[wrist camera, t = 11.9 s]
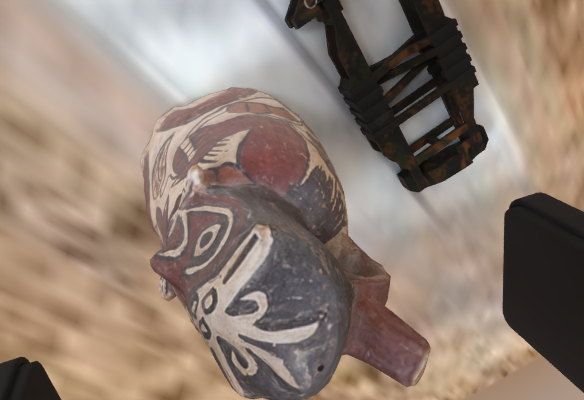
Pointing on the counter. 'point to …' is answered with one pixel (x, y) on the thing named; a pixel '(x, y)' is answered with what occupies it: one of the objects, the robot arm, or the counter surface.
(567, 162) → the counter surface
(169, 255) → the figurine
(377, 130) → the dark flat slotted piece
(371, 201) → the counter surface
